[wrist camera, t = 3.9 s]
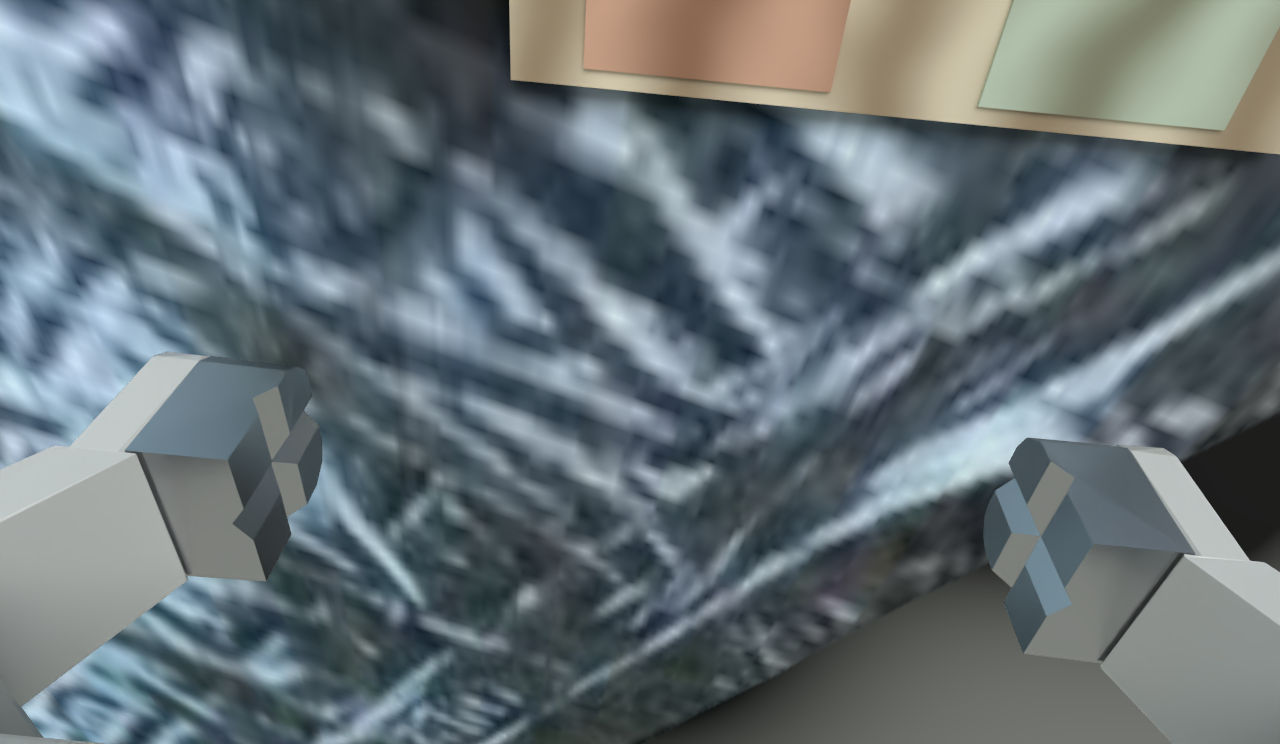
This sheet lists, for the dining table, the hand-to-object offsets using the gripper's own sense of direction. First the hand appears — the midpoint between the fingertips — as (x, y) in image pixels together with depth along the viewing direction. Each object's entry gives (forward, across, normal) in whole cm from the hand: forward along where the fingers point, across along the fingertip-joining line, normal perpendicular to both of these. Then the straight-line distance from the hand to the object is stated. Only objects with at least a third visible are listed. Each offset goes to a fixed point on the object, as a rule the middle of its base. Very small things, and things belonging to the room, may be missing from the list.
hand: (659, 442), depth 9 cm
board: (+27, -9, 0) cm, 29 cm away
